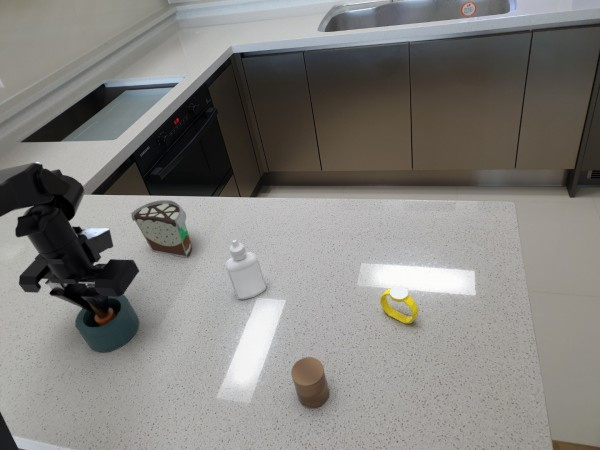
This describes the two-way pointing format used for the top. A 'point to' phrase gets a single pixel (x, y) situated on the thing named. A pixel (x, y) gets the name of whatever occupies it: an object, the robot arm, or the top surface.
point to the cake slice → (164, 227)
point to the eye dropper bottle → (245, 272)
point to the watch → (399, 296)
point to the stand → (310, 382)
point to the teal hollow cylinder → (109, 326)
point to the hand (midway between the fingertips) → (101, 311)
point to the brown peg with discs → (103, 316)
